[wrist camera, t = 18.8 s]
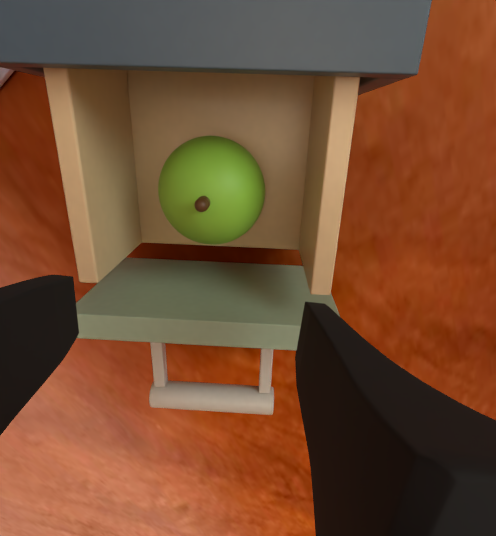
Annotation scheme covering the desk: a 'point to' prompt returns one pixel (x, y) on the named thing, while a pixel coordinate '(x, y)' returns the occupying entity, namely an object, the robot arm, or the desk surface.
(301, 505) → the desk surface
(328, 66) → the cabinet
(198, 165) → the apple
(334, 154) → the drawer
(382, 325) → the desk surface
